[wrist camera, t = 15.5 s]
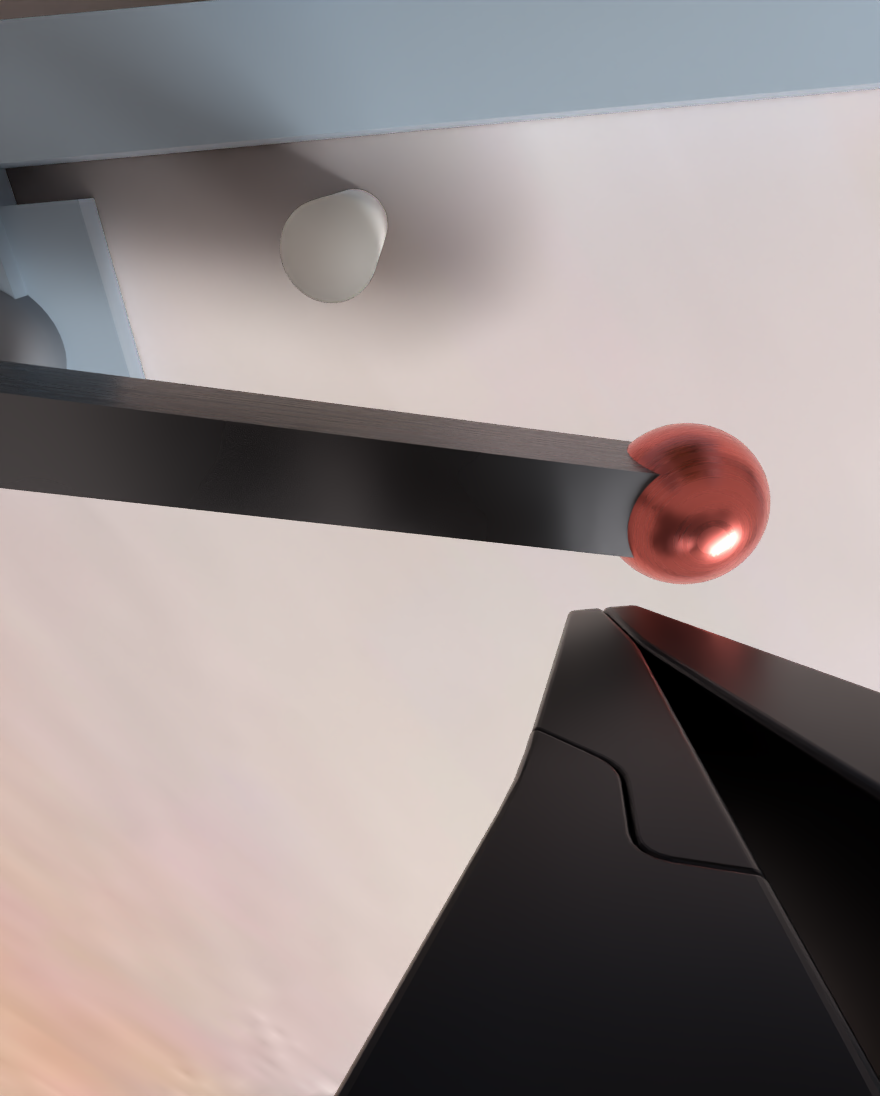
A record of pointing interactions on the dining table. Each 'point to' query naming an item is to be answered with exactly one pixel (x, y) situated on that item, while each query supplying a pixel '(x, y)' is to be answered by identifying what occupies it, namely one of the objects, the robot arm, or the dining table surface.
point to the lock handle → (386, 469)
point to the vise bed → (347, 111)
